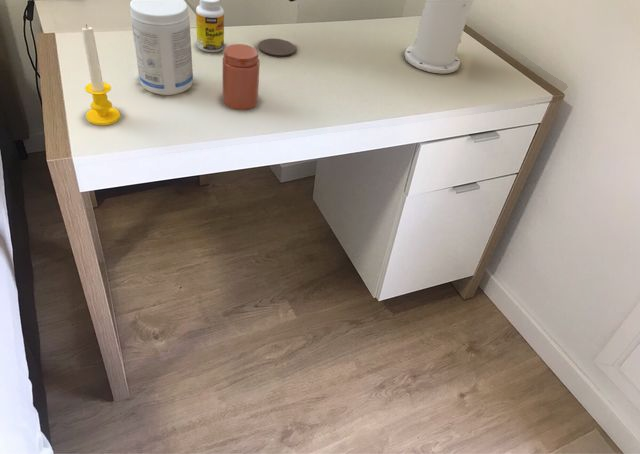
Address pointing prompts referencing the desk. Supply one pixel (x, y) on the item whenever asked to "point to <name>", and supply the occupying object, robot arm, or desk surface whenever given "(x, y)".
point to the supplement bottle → (210, 26)
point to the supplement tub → (162, 45)
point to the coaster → (277, 47)
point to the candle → (97, 85)
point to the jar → (240, 76)
